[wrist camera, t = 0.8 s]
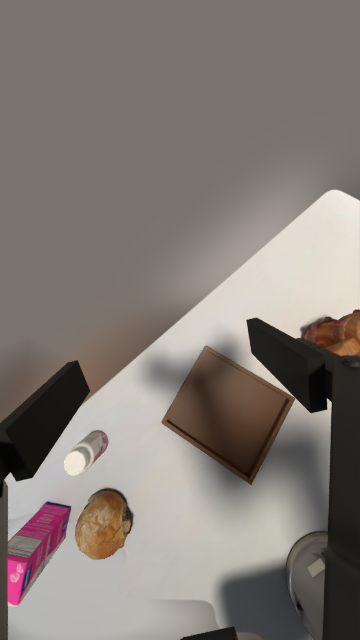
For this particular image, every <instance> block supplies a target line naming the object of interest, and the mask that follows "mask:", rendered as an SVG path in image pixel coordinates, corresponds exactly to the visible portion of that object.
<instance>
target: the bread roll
mask: <svg viewBox="0 0 360 640" xmlns="http://www.w3.org/2000/svg"><path fill="white" fill-rule="evenodd" d="M88 501H89V503H88V505H86V507H85V508H84V511H83V512H82V513H81V515H80V517H79V519H78V522H77V525H76V531H75V536H76V541H77V545H78V547H79V550H80V551H81V552H83V553H84V554H86V555H87V556H88V557H90V558H91V559H94V560H98V559H105V558H107V557H110V556H111V555H113V554H114V553H115V552H116V551H117V550H118V549H119V548H122V547H123V546H124V542H125V539H126V537H127V535H128V534H129V533H130V531H131V522H130V516H129V514H130V513H129V511H128V509H127V505H126V503H125V502H124V501H123V499H122V498H121V497H120V495H119V494H117V493H116V492H112V491H100V492H99V493H97V494H93V495H92V496H91V497H90V498H89V500H88Z"/></svg>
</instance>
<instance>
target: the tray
mask: <svg viewBox="0 0 360 640" xmlns="http://www.w3.org/2000/svg"><path fill="white" fill-rule="evenodd" d="M294 400H295V398H294V397H292V396H290V395H289V394H287V393H285V392H284V391H282V390H280V389H279V388H277V387H275V386H273V385H272V384H270V383H268V382H267V381H265V380H263V379H262V378H260V377H258V376H257V375H255V374H253V373H252V372H250V371H248V370H246V369H245V368H243V367H241V366H240V365H238V364H236V363H235V362H233V361H231V360H230V359H228V358H226V357H224V356H223V355H221V354H219V353H218V352H216V351H214V350H213V349H211V348H209V347H208V346H205V347H204V349H203V351H202V353H201V354H200V356H199V358H198V360H197V361H196V363H195V365H194V366H193V368H192V370H191V372H190V373H189V375H188V377H187V379H186V380H185V382H184V384H183V385H182V387H181V389H180V391H179V392H178V394H177V396H176V398H175V399H174V401H173V403H172V404H171V406H170V408H169V410H168V411H167V413H166V415H165V417H164V418H163V420H162V422H161V423H162V424H164V425H165V426H167V427H168V428H169V429H171V430H172V431H174V432H175V433H177V434H178V435H180V436H181V437H182V438H184V439H185V440H187V441H188V442H190V443H191V444H193V445H194V446H195V447H197V448H198V449H200V450H201V451H203V452H204V453H206V454H207V455H208V456H210V457H211V458H213V459H214V460H216V461H217V462H219V463H220V464H222V465H223V466H224V467H226V468H227V469H229V470H230V471H232V472H233V473H235V474H236V475H237V476H239V477H240V478H242V479H243V480H245V481H246V482H248V483H249V484H250V485H252V483H253V481H254V479H255V477H256V475H257V473H258V471H259V469H260V467H261V465H262V463H263V461H264V459H265V457H266V455H267V453H268V451H269V449H270V447H271V445H272V443H273V441H274V439H275V437H276V436H277V434H278V432H279V430H280V428H281V426H282V424H283V422H284V420H285V418H286V416H287V414H288V412H289V410H290V408H291V406H292V404H293V402H294Z"/></svg>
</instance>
